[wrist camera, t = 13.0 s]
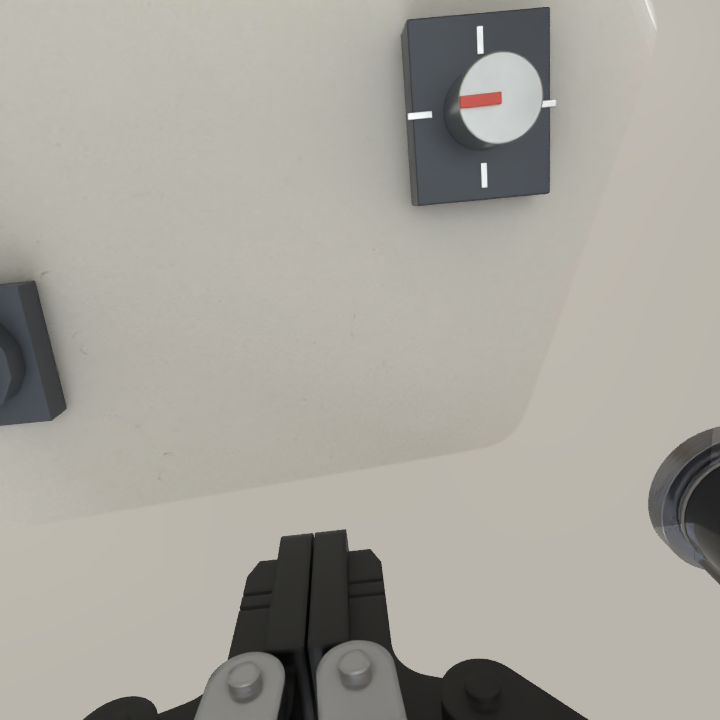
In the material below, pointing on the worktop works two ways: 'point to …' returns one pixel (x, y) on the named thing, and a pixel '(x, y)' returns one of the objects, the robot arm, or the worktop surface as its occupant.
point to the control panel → (428, 95)
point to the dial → (494, 101)
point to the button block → (26, 359)
